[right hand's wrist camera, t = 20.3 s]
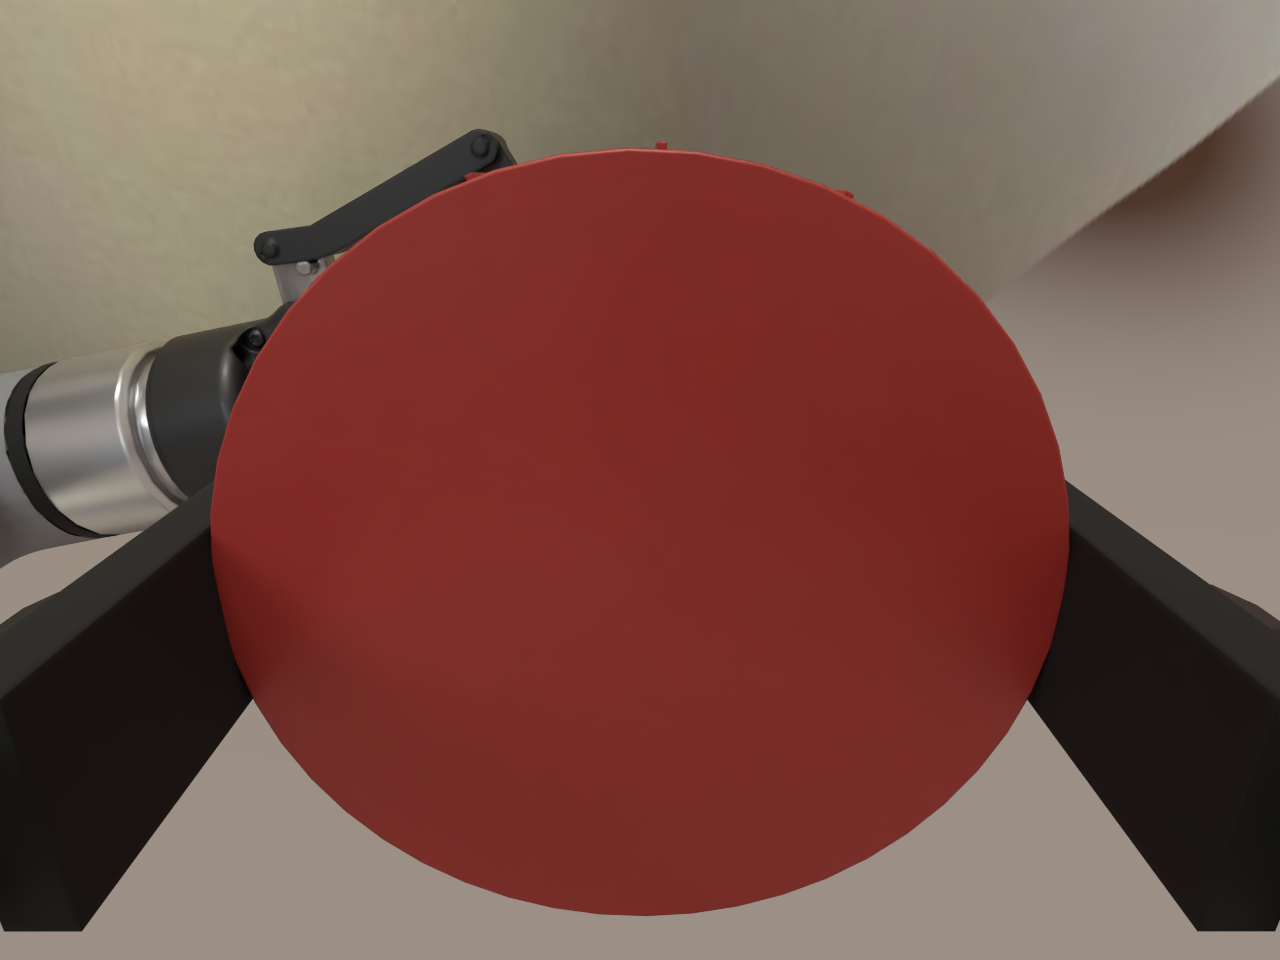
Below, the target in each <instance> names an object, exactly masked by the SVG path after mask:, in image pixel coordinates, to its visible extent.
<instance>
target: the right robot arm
mask: <svg viewBox="0 0 1280 960" xmlns="http://www.w3.org/2000/svg"><path fill="white" fill-rule="evenodd" d="M214 482H215V480H214V481H212V482H211V483H209V484H208V485H207V486H205V487H204V488H203V489H201V490H200V491H198V492H197V493H196V494H194V495H193V496H191V497H190V498H189V499H187V500H186V501H185V502H183V503H182V504H180V505H179V506H178V507H176V508H175V509H173V510H172V511H171V512H169V513H168V514H167V515H165V516H164V517H162V518H161V519H160V520H158V521H157V522H155V523H154V524H153V525H151V526H150V527H149V528H147V529H146V530H144V531H143V532H142V533H140V534H139V535H138V536H136V537H135V538H133V539H132V540H131V541H129V542H128V543H126V544H125V545H124V546H122V547H121V548H120V549H118V550H117V551H115V552H114V553H113V554H111V555H110V556H108V557H107V558H106V559H104V560H103V561H102V562H100V563H99V564H97V565H96V566H95V567H93V568H92V569H91V570H89V571H88V572H86V573H85V574H84V575H82V576H81V577H79V578H78V579H77V580H75V581H74V582H73V583H71V584H70V585H68V586H67V587H66V588H64V589H63V590H62V591H60V592H58V593H56V594H54V595H51V596H49V597H47V598H45V599H43V600H40V601H38V602H36V603H34V604H32V605H29V606H27V607H25V608H23V609H22V610H20V611H19V612H17V613H16V614H14V615H13V616H12V617H10V618H9V619H7V620H6V621H5V622H3V623H2V624H0V922H1V925H2V927H3V930H4V931H82V930H83V929H84V928H85V926H86V925H87V924H88V922H89V921H90V919H91V918H92V917H93V915H94V914H95V913H96V911H97V910H98V909H99V907H100V906H101V905H102V903H103V902H104V900H105V899H106V898H107V896H108V895H109V894H110V892H111V891H112V890H113V888H114V887H115V885H116V884H117V883H118V881H119V880H120V879H121V877H122V876H123V875H124V873H125V872H126V870H127V869H128V868H129V866H130V865H131V864H132V862H133V861H134V860H135V858H136V857H137V856H138V854H139V853H140V851H141V850H142V849H143V847H144V846H145V845H146V843H147V842H148V841H149V839H150V838H151V837H152V835H153V834H154V832H155V831H156V830H157V828H158V827H159V826H160V824H161V823H162V822H163V820H164V819H165V817H166V816H167V815H168V813H169V812H170V811H171V809H172V808H173V807H174V805H175V804H176V802H177V801H178V800H179V798H180V797H181V796H182V794H183V793H184V792H185V790H186V789H187V788H188V786H189V785H190V783H191V782H192V781H193V779H194V778H195V777H196V775H197V774H198V773H199V771H200V770H201V768H202V767H203V766H204V764H205V763H206V762H207V760H208V759H209V758H210V756H211V755H212V753H213V752H214V751H215V749H216V748H217V747H218V745H219V744H220V743H221V741H222V740H223V739H224V737H225V736H226V734H227V733H228V732H229V730H230V729H231V728H232V726H233V725H234V724H235V722H236V721H237V719H238V718H239V717H240V715H241V714H242V713H243V711H244V710H245V709H246V707H247V706H248V705H249V703H250V702H251V700H252V699H253V697H252V695H251V693H250V691H249V689H248V687H247V684H246V682H245V680H244V678H243V676H242V674H241V672H240V670H239V668H238V666H237V663H236V661H235V659H234V656H233V653H232V649H231V645H230V641H229V637H228V632H227V628H226V624H225V619H224V615H223V610H222V605H221V601H220V596H219V592H218V587H217V583H216V578H215V573H214V568H213V563H212V557H211V518H210V512H211V505H212V497H213V489H214ZM1065 484H1066V489H1067V495H1068V509H1069V548H1070V551H1069V559H1068V567H1067V576H1066V582H1065V587H1064V592H1063V597H1062V602H1061V606H1060V610H1059V615H1058V619H1057V623H1056V628H1055V632H1054V636H1053V640H1052V644H1051V648H1050V650H1049V653H1048V655H1047V657H1046V660H1045V662H1044V664H1043V667H1042V669H1041V671H1040V673H1039V676H1038V678H1037V680H1036V683H1035V685H1034V687H1033V690H1032V692H1031V694H1030V696H1029V697H1028V699H1027V700H1028V701H1029V702H1030V704H1031V705H1032V706H1033V708H1034V709H1035V711H1036V712H1037V713H1038V715H1039V716H1040V717H1041V719H1042V720H1043V721H1044V723H1045V724H1046V726H1047V727H1048V728H1049V730H1050V731H1051V732H1052V734H1053V735H1054V736H1055V738H1056V739H1057V741H1058V742H1059V743H1060V745H1061V746H1062V747H1063V749H1064V750H1065V751H1066V753H1067V754H1068V756H1069V757H1070V758H1071V760H1072V761H1073V762H1074V764H1075V765H1076V766H1077V768H1078V769H1079V771H1080V772H1081V773H1082V775H1083V776H1084V777H1085V779H1086V780H1087V781H1088V783H1089V784H1090V785H1091V787H1092V788H1093V790H1094V791H1095V792H1096V794H1097V795H1098V796H1099V798H1100V799H1101V800H1102V802H1103V803H1104V805H1105V806H1106V807H1107V809H1108V810H1109V811H1110V813H1111V814H1112V815H1113V817H1114V818H1115V820H1116V821H1117V822H1118V824H1119V825H1120V826H1121V828H1122V829H1123V830H1124V832H1125V833H1126V835H1127V836H1128V837H1129V838H1130V840H1131V841H1132V843H1133V844H1134V845H1135V847H1136V848H1137V849H1138V851H1139V852H1140V854H1141V855H1142V856H1143V858H1144V859H1145V860H1146V862H1147V863H1148V864H1149V866H1150V867H1151V869H1152V870H1153V871H1154V873H1155V874H1156V875H1157V877H1158V878H1159V879H1160V881H1161V882H1162V883H1163V885H1164V886H1165V888H1166V889H1167V890H1168V892H1169V893H1170V894H1171V896H1172V897H1173V898H1174V900H1175V901H1176V903H1177V904H1178V905H1179V907H1180V908H1181V909H1182V911H1183V912H1184V913H1185V915H1186V916H1187V918H1188V919H1189V920H1190V922H1191V923H1192V924H1193V926H1194V927H1195V928H1196V930H1197V931H1275V930H1276V928H1277V925H1278V923H1279V920H1280V621H1279V620H1277V619H1276V618H1274V617H1273V616H1272V615H1270V614H1269V613H1267V612H1266V611H1265V610H1263V609H1262V608H1260V607H1259V606H1257V605H1255V604H1253V603H1251V602H1249V601H1246V600H1244V599H1242V598H1240V597H1238V596H1235V595H1233V594H1231V593H1229V592H1227V591H1224V590H1222V589H1220V588H1218V587H1216V586H1213V585H1210V584H1208V583H1207V582H1206V581H1204V580H1203V579H1201V578H1200V577H1199V576H1197V575H1196V574H1194V573H1193V572H1192V571H1190V570H1189V569H1187V568H1186V567H1185V566H1183V565H1182V564H1181V563H1179V562H1178V561H1176V560H1175V559H1174V558H1172V557H1171V556H1170V555H1168V554H1167V553H1165V552H1164V551H1163V550H1161V549H1160V548H1158V547H1157V546H1156V545H1154V544H1153V543H1152V542H1150V541H1149V540H1147V539H1146V538H1145V537H1143V536H1142V535H1141V534H1139V533H1138V532H1136V531H1135V530H1134V529H1132V528H1131V527H1129V526H1128V525H1127V524H1125V523H1124V522H1123V521H1121V520H1120V519H1118V518H1117V517H1116V516H1114V515H1113V514H1112V513H1110V512H1109V511H1107V510H1106V509H1105V508H1103V507H1102V506H1100V505H1099V504H1098V503H1096V502H1095V501H1093V500H1092V499H1091V498H1089V497H1088V496H1087V495H1085V494H1084V493H1082V492H1081V491H1080V490H1078V489H1077V488H1076V487H1074V486H1073V485H1071V484H1070V483H1069V482H1067V481H1066V480H1065Z"/></svg>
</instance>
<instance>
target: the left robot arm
mask: <svg viewBox="0 0 1280 960" xmlns="http://www.w3.org/2000/svg"><path fill="white" fill-rule="evenodd" d="M513 165H517V163H516V161H515V159H514V158H513V156H512V154H511V153H510V151H509V149H508V148H507V144H506V142H505V140H504V139H503V138H502V137H501V136H500V135H498V134H496V133H493V132H490V131H487V130H482V129H476V130H473V131H470V132H469V133H467V134H465V135H464V136H462V137H460V138H458V139H457V140H455V141H453V142H452V143H450V144H448V145H447V146H445V147H443V148H441V149H440V150H438V151H436V152H435V153H433V154H431V155H429V156H428V157H426V158H424V159H423V160H421V161H419V162H418V163H416V164H414V165H412V166H411V167H409V168H407V169H406V170H404V171H402V172H401V173H399V174H397V175H395V176H394V177H392V178H390V179H389V180H387V181H385V182H384V183H382V184H380V185H378V186H377V187H375V188H373V189H372V190H370V191H368V192H367V193H365V194H363V195H361V196H360V197H358V198H356V199H355V200H353V201H351V202H350V203H348V204H346V205H344V206H343V207H341V208H339V209H338V210H336V211H334V212H333V213H331V214H329V215H327V216H326V217H324V218H322V219H321V220H319V221H317V222H316V223H314V224H312V225H309V226H302V227H295V228H288V229H281V230H274V231H268V232H264V233H261V234H259V235H258V236H257V237H256V239H255V242H254V251H255V253H256V255H257V257H258V258H259V259H260V260H261V261H262V262H263V263H265V264H267V265H272V266H273V270H274V273H275V277H276V280H277V284H278V287H279V291H280V294H281V297H282V301H283V305H282V306H280V307H279V308H278V309H277V310H276V311H275V312H274V313H273V314H272V315H271V316H270V317H268V318H265V319H261V320H256V321H251V322H246V323H242V324H237V325H232V326H227V327H222V328H217V329H212V330H207V331H202V332H197V333H192V334H187V335H182V336H178V337H175V338H173V339H171V340H170V341H168V342H161V341H152V342H147V343H143V344H138V345H133V346H128V347H123V348H118V349H113V350H108V351H103V352H98V353H93V354H88V355H83V356H78V357H73V358H69V359H64V360H60V361H58V362H54V363H49V364H45V365H43V366H40V367H34V368H29V369H23V370H18V371H12V372H7V373H1V374H0V568H2V567H3V566H5V565H7V564H8V563H10V562H12V561H13V560H15V559H17V558H19V557H22V556H24V555H27V554H29V553H32V552H35V551H39V550H43V549H48V548H53V547H57V546H62V545H68V544H73V543H78V542H83V541H88V540H93V539H99V538H104V537H110V536H117V535H120V534H126V533H132V532H137V531H143V530H146V529H147V528H149V527H150V526H151V525H153V524H154V523H155V522H157V521H158V520H160V519H161V518H162V517H164V516H165V515H167V514H168V513H169V512H171V511H172V510H173V509H175V508H176V507H178V506H179V505H180V504H182V503H183V502H185V501H186V500H187V499H189V498H190V497H191V496H193V495H194V494H196V493H197V492H198V491H200V490H201V489H203V488H204V487H205V486H207V485H208V484H209V483H211V482H212V481H214V480H215V474H216V466H217V460H218V456H219V453H220V449H221V446H222V442H223V439H224V436H225V432H226V429H227V425H228V422H229V418H230V415H231V411H232V408H233V406H234V404H235V402H236V400H237V397H238V395H239V393H240V391H241V389H242V387H243V385H244V382H245V380H246V378H247V376H248V374H249V372H250V370H251V367H252V365H253V363H254V361H255V359H256V357H257V356H258V354H259V353H260V351H261V350H262V348H263V347H264V345H265V344H266V342H267V341H268V339H269V338H270V336H271V335H272V333H273V332H274V330H275V329H276V327H277V326H278V324H279V323H280V321H281V320H282V318H283V317H284V315H285V314H286V312H287V311H288V310H289V308H290V307H291V306H292V305H293V304H294V303H295V302H296V301H297V300H298V299H299V298H300V297H301V295H302V294H303V293H304V292H305V291H306V290H307V289H308V288H309V287H310V286H311V285H312V284H313V282H314V281H315V279H316V278H317V277H318V276H319V275H320V274H322V273H323V272H324V271H325V269H326V268H327V267H328V266H329V265H330V264H332V263H333V262H334V261H335V259H334V256H333V255H335V254H339V253H343V252H346V251H348V250H349V249H350V248H352V247H353V246H354V245H355V244H357V243H358V242H359V241H360V240H362V239H363V238H364V237H365V236H367V235H368V234H369V233H370V232H372V231H373V230H374V229H375V228H377V227H378V226H380V225H381V224H383V223H385V222H387V221H388V220H390V219H392V218H394V217H395V216H397V215H399V214H400V213H402V212H404V211H406V210H407V209H409V208H411V207H412V206H414V205H416V204H418V203H419V202H421V201H423V200H425V199H426V198H428V197H430V196H431V195H433V194H436V193H438V192H441V191H443V190H446V189H448V188H451V187H453V186H456V185H458V184H461V183H463V182H466V178H465V175H467V174H469V173H472V172H476V173H488V172H491V171H493V170H496V169H501V168H505V167H509V166H513Z"/></svg>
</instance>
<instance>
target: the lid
mask: <svg viewBox="0 0 1280 960" xmlns="http://www.w3.org/2000/svg"><path fill="white" fill-rule="evenodd" d="M465 178H466V182H463V183H461V184H458V185H456V186H453V187H451V188H448V189H446V190H443V191H441V192H438V193H436V194H433V195H431V196H430V197H428V198H426V199H425V200H423V201H421V202H419V203H418V204H416V205H414V206H412V207H411V208H409V209H407V210H406V211H404V212H402V213H400V214H399V215H397V216H395V217H394V218H392V219H390V220H388V221H387V222H385V223H383V224H381V225H380V226H378V227H377V228H375V229H374V230H373V231H372V232H370V233H369V234H368V235H367V236H365V237H364V238H363V239H362V240H360V241H359V242H358V243H357V244H355V245H354V246H353V247H352V248H350V249H349V250H348V251H347V252H345V253H344V254H343V255H342V256H340V257H339V258H338V259H337V260H335V261H334V262H333V263H332V264H330V265H329V266H328V267H327V268H326V269H325V271H324V272H323V273H322V274H320V275H319V276H318V277H317V278H316V279H315V281H314V282H313V284H312V285H311V286H310V287H309V288H308V289H307V290H306V291H305V292H304V293H303V294H302V295H301V297H300V298H299V299H298V300H297V301H296V302H295V303H294V304H293V305H292V306H291V307H290V308H289V310H288V311H287V312H286V314H285V315H284V317H283V318H282V320H281V321H280V323H279V324H278V326H277V327H276V329H275V330H274V332H273V333H272V335H271V336H270V338H269V339H268V341H267V342H266V344H265V345H264V347H263V348H262V350H261V351H260V353H259V354H258V356H257V357H256V359H255V361H254V363H253V365H252V367H251V370H250V372H249V374H248V376H247V378H246V380H245V382H244V385H243V387H242V389H241V391H240V393H239V395H238V397H237V400H236V402H235V404H234V406H233V408H232V411H231V415H230V418H229V422H228V425H227V429H226V432H225V436H224V439H223V442H222V446H221V449H220V453H219V456H218V460H217V466H216V474H215V482H214V489H213V497H212V505H211V512H210V518H211V557H212V563H213V568H214V573H215V578H216V583H217V587H218V592H219V596H220V601H221V605H222V610H223V615H224V619H225V624H226V628H227V632H228V637H229V641H230V645H231V649H232V653H233V656H234V659H235V661H236V663H237V666H238V668H239V670H240V672H241V674H242V676H243V678H244V680H245V682H246V684H247V687H248V689H249V691H250V693H251V695H252V697H253V699H254V701H255V703H256V705H257V706H258V708H259V709H260V711H261V712H262V714H263V716H264V717H265V719H266V720H267V722H268V723H269V725H270V726H271V728H272V729H273V731H274V733H275V734H276V736H277V737H278V739H279V740H280V742H281V743H282V745H283V746H284V747H285V748H286V749H287V750H288V752H289V753H290V754H291V755H292V756H293V758H294V759H295V760H296V761H297V762H298V764H299V765H300V766H301V767H302V768H303V770H304V771H305V772H306V773H307V774H308V776H309V777H310V778H311V779H312V780H313V781H314V782H315V783H316V784H317V785H318V786H319V787H320V788H321V789H322V790H324V791H325V792H326V793H327V794H328V795H329V796H330V797H331V798H332V799H333V800H334V801H335V802H336V803H337V804H338V805H339V806H341V807H342V808H343V809H344V810H345V811H346V812H347V813H349V814H350V815H351V816H353V817H354V818H355V819H357V820H358V821H359V822H361V823H362V824H363V825H365V826H366V827H367V828H369V829H370V830H371V831H373V832H374V833H375V834H377V835H378V836H379V837H381V838H382V839H383V840H385V841H387V842H388V843H390V844H392V845H393V846H395V847H397V848H398V849H400V850H402V851H404V852H405V853H407V854H409V855H410V856H412V857H414V858H415V859H417V860H419V861H420V862H422V863H424V864H426V865H428V866H431V867H433V868H435V869H437V870H439V871H441V872H444V873H446V874H448V875H450V876H452V877H455V878H457V879H459V880H461V881H463V882H465V883H468V884H471V885H474V886H477V887H480V888H483V889H486V890H489V891H492V892H495V893H497V894H500V895H503V896H506V897H510V898H513V899H518V900H522V901H526V902H531V903H535V904H539V905H543V906H547V907H552V908H558V909H565V910H572V911H579V912H587V913H594V914H606V915H633V916H655V915H672V914H689V913H698V912H704V911H711V910H717V909H723V908H730V907H736V906H741V905H745V904H749V903H752V902H756V901H760V900H764V899H768V898H772V897H776V896H780V895H783V894H786V893H789V892H791V891H794V890H797V889H800V888H802V887H805V886H808V885H810V884H813V883H816V882H819V881H821V880H824V879H827V878H829V877H831V876H833V875H835V874H837V873H839V872H841V871H843V870H845V869H847V868H849V867H851V866H853V865H855V864H857V863H859V862H861V861H864V860H866V859H868V858H869V857H871V856H873V855H874V854H876V853H877V852H879V851H880V850H882V849H884V848H885V847H887V846H888V845H890V844H892V843H893V842H895V841H896V840H898V839H900V838H901V837H903V836H904V835H906V834H907V833H909V832H910V831H911V830H913V829H914V828H915V827H916V826H918V825H919V824H920V823H921V822H923V821H924V820H925V819H926V818H928V817H929V816H930V815H931V814H933V813H934V812H935V811H936V810H938V809H939V808H940V807H942V806H943V805H944V804H945V803H946V802H947V801H948V800H949V799H950V798H951V797H952V796H953V795H954V794H955V793H956V792H957V791H958V790H959V789H960V788H961V787H962V786H963V785H964V784H965V783H966V782H967V781H968V780H969V779H970V778H971V777H972V776H973V775H974V774H975V773H976V772H977V771H978V770H979V768H980V767H981V766H982V765H983V763H984V762H985V761H986V760H987V758H988V757H989V756H990V754H991V753H992V752H993V751H994V749H995V748H996V747H997V745H998V744H999V743H1000V742H1001V740H1002V739H1003V738H1004V737H1005V735H1006V734H1007V732H1008V731H1009V729H1010V727H1011V726H1012V724H1013V722H1014V721H1015V719H1016V717H1017V716H1018V714H1019V712H1020V711H1021V709H1022V707H1023V706H1024V704H1025V702H1026V701H1027V699H1028V697H1029V696H1030V694H1031V692H1032V690H1033V687H1034V685H1035V683H1036V680H1037V678H1038V676H1039V673H1040V671H1041V669H1042V667H1043V664H1044V662H1045V660H1046V657H1047V655H1048V653H1049V650H1050V648H1051V644H1052V640H1053V636H1054V632H1055V628H1056V623H1057V619H1058V615H1059V610H1060V606H1061V602H1062V597H1063V592H1064V587H1065V582H1066V576H1067V567H1068V559H1069V551H1070V548H1069V509H1068V495H1067V489H1066V484H1065V478H1064V473H1063V467H1062V462H1061V456H1060V450H1059V446H1058V442H1057V440H1056V437H1055V434H1054V431H1053V428H1052V425H1051V422H1050V419H1049V416H1048V413H1047V411H1046V408H1045V405H1044V402H1043V399H1042V396H1041V393H1040V392H1039V390H1038V388H1037V386H1036V384H1035V382H1034V380H1033V378H1032V376H1031V375H1030V373H1029V371H1028V369H1027V367H1026V365H1025V363H1024V361H1023V359H1022V357H1021V356H1020V354H1019V352H1018V350H1017V348H1016V346H1015V344H1014V343H1013V341H1012V340H1011V339H1010V337H1009V336H1008V335H1007V333H1006V332H1005V331H1004V329H1003V328H1002V327H1001V325H1000V324H999V323H998V321H997V320H996V319H995V317H994V316H993V315H992V313H991V312H990V311H989V309H988V308H987V307H986V305H985V304H984V303H983V301H982V300H981V299H980V297H979V296H978V295H977V294H976V293H975V292H974V291H973V290H972V289H971V288H970V287H969V286H968V285H967V284H966V283H965V282H964V281H963V280H962V279H961V278H960V277H959V276H958V275H957V274H956V273H955V272H954V271H953V270H952V269H951V268H950V267H949V266H948V265H947V264H946V263H944V262H943V261H942V260H941V259H940V258H939V257H938V256H937V255H936V254H935V253H934V252H933V251H931V250H930V249H928V248H927V247H926V246H924V245H923V244H922V243H920V242H919V241H917V240H916V239H915V238H913V237H912V236H911V235H909V234H908V233H906V232H905V231H904V230H902V229H901V228H900V227H898V226H897V225H895V224H894V223H893V222H891V221H890V220H888V219H887V218H886V217H884V216H883V215H881V214H879V213H877V212H875V211H873V210H871V209H869V208H867V207H865V206H863V205H861V204H860V203H858V202H856V201H854V200H852V197H853V194H852V193H850V192H848V191H844V190H833V189H831V188H829V187H827V186H824V185H821V184H819V183H816V182H813V181H810V180H807V179H804V178H801V177H799V176H796V175H793V174H790V173H787V172H784V171H781V170H778V169H776V168H773V167H770V166H767V165H764V164H760V163H755V162H749V161H744V160H739V159H734V158H729V157H724V156H718V155H713V154H708V153H703V152H698V151H682V150H667V142H657V144H656V147H655V149H641V148H621V149H610V150H600V151H589V152H578V153H567V154H559V155H555V156H551V157H546V158H542V159H538V160H534V161H530V162H526V163H521V164H517V165H513V166H509V167H505V168H501V169H496V170H493V171H491V172H488V173H476V172H472V173H469V174H467V175H465Z"/></svg>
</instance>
